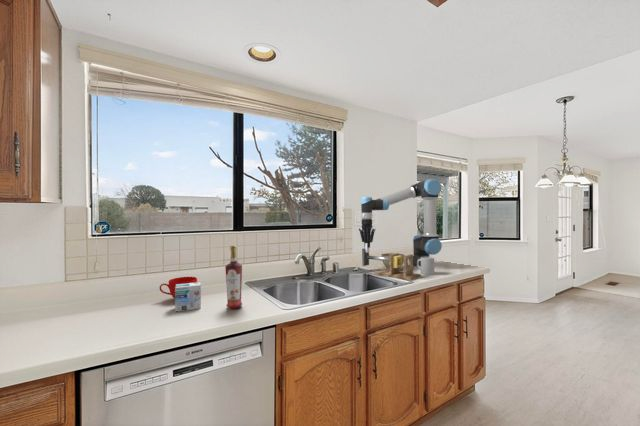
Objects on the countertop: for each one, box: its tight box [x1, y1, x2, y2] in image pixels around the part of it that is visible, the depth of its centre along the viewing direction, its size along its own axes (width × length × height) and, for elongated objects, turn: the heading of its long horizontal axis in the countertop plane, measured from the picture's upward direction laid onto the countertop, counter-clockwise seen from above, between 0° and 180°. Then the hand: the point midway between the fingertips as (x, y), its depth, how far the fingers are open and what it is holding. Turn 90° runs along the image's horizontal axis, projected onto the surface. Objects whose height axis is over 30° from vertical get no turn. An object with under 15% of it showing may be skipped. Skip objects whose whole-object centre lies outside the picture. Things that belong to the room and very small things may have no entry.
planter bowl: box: [381, 252, 406, 271], centre depth 215 cm, size 16×16×11 cm
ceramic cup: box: [159, 276, 198, 300], centre depth 148 cm, size 13×17×10 cm
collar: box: [392, 256, 403, 268], centre depth 195 cm, size 3×7×7 cm, turn 137°
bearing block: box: [373, 252, 422, 281], centre depth 195 cm, size 26×14×14 cm, turn 47°
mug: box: [416, 256, 435, 276], centre depth 201 cm, size 12×8×11 cm
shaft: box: [361, 247, 389, 267], centre depth 204 cm, size 25×6×12 cm, turn 47°
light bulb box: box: [174, 281, 202, 313], centre depth 135 cm, size 11×7×11 cm, turn 113°
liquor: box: [225, 244, 243, 310], centre depth 135 cm, size 7×7×28 cm
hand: (367, 252), depth 211 cm, fingers closed
